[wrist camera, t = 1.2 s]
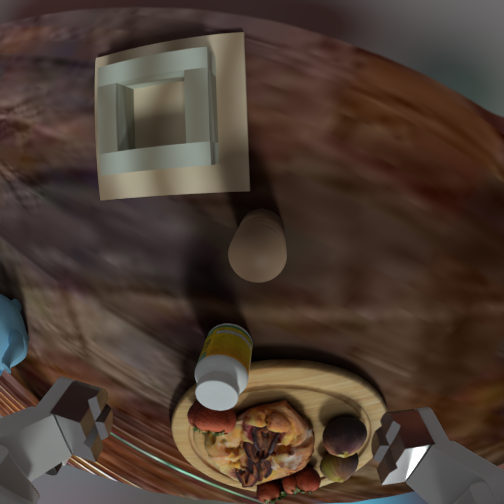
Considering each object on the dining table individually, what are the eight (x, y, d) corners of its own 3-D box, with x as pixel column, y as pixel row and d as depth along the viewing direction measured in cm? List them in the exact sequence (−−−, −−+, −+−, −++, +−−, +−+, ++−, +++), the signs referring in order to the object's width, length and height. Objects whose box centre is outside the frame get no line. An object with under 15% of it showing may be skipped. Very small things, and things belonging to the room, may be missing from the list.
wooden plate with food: (131, 393, 41) (111, 433, 33) (345, 312, 34) (362, 357, 26) (241, 494, 49) (237, 527, 41) (403, 448, 42) (414, 484, 34)
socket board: (244, 34, 26) (239, 16, 21) (250, 190, 31) (245, 197, 26) (99, 59, 27) (76, 50, 23) (103, 199, 32) (80, 207, 27)
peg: (283, 207, 31) (286, 226, 23) (284, 251, 32) (286, 282, 25) (238, 208, 31) (226, 227, 24) (240, 251, 33) (230, 282, 25)
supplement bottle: (249, 362, 37) (241, 420, 28) (205, 354, 37) (186, 409, 28) (256, 325, 35) (249, 381, 26) (209, 317, 35) (188, 369, 26)
